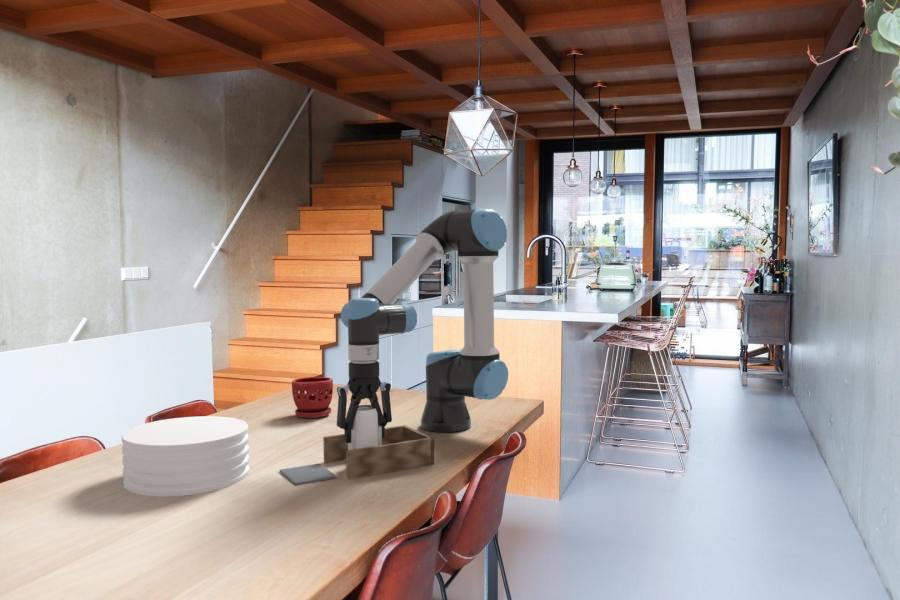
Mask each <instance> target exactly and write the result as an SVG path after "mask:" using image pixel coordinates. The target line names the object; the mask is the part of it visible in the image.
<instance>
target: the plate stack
mask: <svg viewBox="0 0 900 600" xmlns="http://www.w3.org/2000/svg"><path fill="white" fill-rule="evenodd" d="M248 432H249V424H248V422H246V421H245V420H242V419H240V418H234V417H229V416H216V415H215V416H213V415H212V416H211V415H209V416H208V415H207V416H206V415H205V416H203V415H202V416H200V415H199V416H198V415H197V416H184V417H174V418H167V419H159V420H156V421H150V422H146V423H143V424H139V425H136V426H133V427H131V428H128V429H127V430H125V431H124V432H123V433H122V435H121V443H122V448H121V451H122V465H123V468H122V475H123V480H122V481H123V483H122V484H123V488H124V489H125V490H126V491H128V492H130V493H133V494H137V495H141V496H148V497H182V496H191V495H197V494H198V495H199V494H204V493H209V492H214V491H218V490H221V489H226V488H228V487H230V486H234V485H236V484H239V483H240V482H241V481H244V480H245V479H246V478H247V477H248V476H249V474H250V465H249V464H250V455H249V452H250V449H249V444H248V443H249V434H248Z"/></svg>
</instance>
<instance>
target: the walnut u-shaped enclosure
mask: <svg viewBox="0 0 900 600" xmlns="http://www.w3.org/2000/svg"><path fill="white" fill-rule="evenodd" d="M322 439H323V441H322V442H323V443H322V444H323V445H322V446H323V448H322V449H323V463H324V464H327V463H328V464H329V463H333V462H334V463H336V462H340V461H341V462H342V461H346V479H347V480H351V478H352V479H356V478H362V477H368V476H373V475H374V476H375V475H379V474H384V473H391V472H395V471H402V470H408V469H413V468H418V467H419V468H420V467H423V466H431V465H434V464H435V437H432V436H430V435H428V434H425V433H423V432H421V431H419V430H416V429H414V428H412V427H410V426H407V425H405V424H404V425H398V426H391V427H385V437H384V438H382V445H380V446H373V447H367V448H360V449H354V450H348V443H346V442H345V440H344V433H341V434H334V435H327V436H323V438H322Z"/></svg>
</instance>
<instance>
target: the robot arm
mask: <svg viewBox="0 0 900 600" xmlns="http://www.w3.org/2000/svg"><path fill="white" fill-rule="evenodd" d="M507 239H508V229H507V225H506V222H505V220H504V219H503V217H502V216H501V214H500V213H499V212H497V211H496V210H494V209H490V208H476V209H475V208H474V209H464V210H460V209H459V210H451V211H448V212H446V213H443V214H441V215H440V216H438V217H436V218H435V219H434V220H433V221H431V222H430V223H428V225H427V226H426V227H424V228H423V229H422V230H421V231H420V232H419V233H418V234H417V236H416V237H415V241H416V242H414V244H412V245H411V247H409V248H408V249H407V250H406V252H404V254H402V256H401V257H399V259H398V260H396V262H395V263H394V264H393V265H391V267H390V268H388V270H387V271H386V272H385V273H384V274H383V275H382V276H381V277H380V278H379V279H378V280H377V281H376V282H375V283H374V284H373V285H371V287H370V288H369V289H368V290H367V291H366V292H365V293H364V294H363V295H362V296H361V297H356V298H352V299H350V300H349V301H348V302H347V303H345V304H344V305H343V306H342V308H341V311H340V319H341V322H342V324H343V325H344V326H345V327H346V328H347V338H348V340H347V341H348V345H347V348H348V349H347V350H348V354H347V355H348V357H347V358H348V360H349V363H348V382H347V385H344V386H338V387H337V388H336V392H337V395H338V399H337V400H338V401H337V412H336V413H337V416H336V426H337V428H340V429H341V430H344V432H343V434H344V440H345V442H346V443H348V450H354V449H355V430H353V429H352V426H353V423H354V419H355V416H356V413H357V409H358V406H359V405H360V404H361V402H362V400H365V399H368V401H369V403H370V405H371V406H372V407H374V408H375V407H376V411H377V413H378V446H380V445H382V438H384V437H385V428H386V426H387V425H388V423H392V420H393V419H392V418H393V417H392V409H391V408H392V407H391V397H390V396H391V395H390V393H391V392H390V391H391V387H392V385H391V383H389V382H386V381H384V382H382V381H381V380H380V362H379V361H378V360H380V336H384V335H394V334H396V335H397V334H401V335H403V334H405V333H410V332H411V331H413V330H414V329H415V328H416V326H417V322H418V314H417V310H416V308H414V306H413V305H412V304H410V303H400V302H399V303H396V302H397V301H398V299H400V298H401V296H402V295H404V294H405V292H406V291H407V290H408V289H409V288H410V287H411V286H412V285H413V284H414V283H415V282H416V281H417V279H418V278H420V276H421V275H422V274H423V273H424V272H425V271H426V270H427V269H428V268H429V267H430V266H431V265H432V264H433V263H434V262H435V261H439V260H441V259H443V258H444V256H445V255H446V254H448V253H450V252H455V251H457V258H458V259H459V261H461V262H462V265H463V271H462V272H463V273H462V274H463V278H462V279H463V336H464V337H463V338H464V339H463V343H464V345H463V347H462V348H461V349H449V350H448V349H447V350H440V351H433V352H430V353H428V354H427V356H426V361H425V362H426V363H425V385H426V386H425V389H426V390H425V391H426V394H425V395H426V399H425V400H426V402H425V405H424V409H423V412H422V414H421V418H420V428H421V429H423V430H425V431H429V432H436V433H437V432H438V433H454V432H461V431H465V430H469V428H471V425H472V424H471V423H472V421H471V420H472V419H471V415H470V413H469V410H468V406H467V404H466V397H468V398H473V399H477V400H480V401H481V400H484V401H485V400H487V401H491V400H494V399H497V398H498V397H499V396H500V395H501V394H502V393H503V392H504V390H505V389H506V386H507V384H508V381H509V369H508V366H507V364H506V363H505V362H504V361H502V360H501V357H500V356H501V355H500V352H501V351H500V350H498V348H497V347H496V346H495V311H494V310H495V307H494V306H495V304H494V303H495V300H494V299H495V297H494V296H495V295H494V294H495V293H494V292H495V289H494V262H495V261H496V260H497V259H498V258H499V257H500V256H499V253H500V252H499V250H501V249H502V248H503V247H504V246H505V243H506V242H507ZM379 389H380V398H381V405H380V402H379V397H378V395H377V392H378V390H379ZM349 392H351V393H350V394H351V396H350V403H349V406H348V410H347V405H348V403H347V402H348V397H347V396H348V395H349ZM381 407H382V408H381Z"/></svg>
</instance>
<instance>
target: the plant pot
mask: <svg viewBox="0 0 900 600" xmlns="http://www.w3.org/2000/svg"><path fill="white" fill-rule="evenodd" d="M333 381H334V380H333V378H331V377H327V376H309V377H300V378H296V379H292V380H291V392H292V398H293V399H292V400H293V402H294V404H295V407H296V408H297V409H294V411H295V415H296V416H298V417H300V418H305V419H316V418H318V419H319V417H321V418H323V417H326V416H328V415H329V414H331V412H332V407H330V405H331V402H332V400H333V393H334V382H333ZM305 392H306V393H305Z"/></svg>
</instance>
